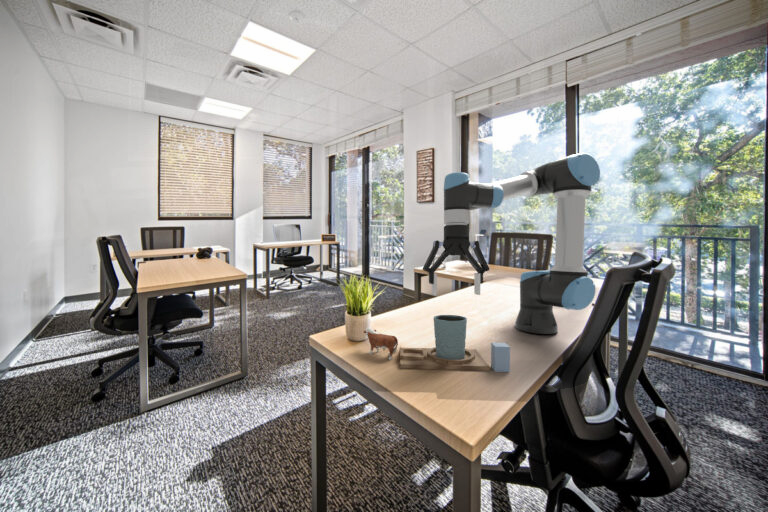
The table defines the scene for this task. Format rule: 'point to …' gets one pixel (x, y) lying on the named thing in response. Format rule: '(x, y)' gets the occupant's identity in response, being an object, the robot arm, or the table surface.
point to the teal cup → (450, 336)
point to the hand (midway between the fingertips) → (455, 294)
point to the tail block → (500, 357)
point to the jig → (440, 360)
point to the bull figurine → (381, 341)
